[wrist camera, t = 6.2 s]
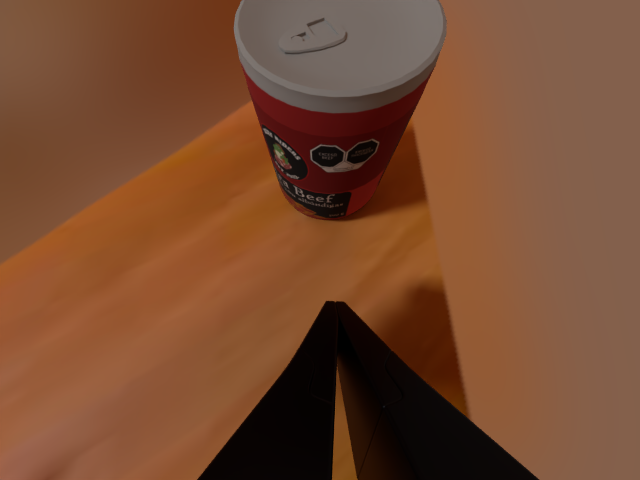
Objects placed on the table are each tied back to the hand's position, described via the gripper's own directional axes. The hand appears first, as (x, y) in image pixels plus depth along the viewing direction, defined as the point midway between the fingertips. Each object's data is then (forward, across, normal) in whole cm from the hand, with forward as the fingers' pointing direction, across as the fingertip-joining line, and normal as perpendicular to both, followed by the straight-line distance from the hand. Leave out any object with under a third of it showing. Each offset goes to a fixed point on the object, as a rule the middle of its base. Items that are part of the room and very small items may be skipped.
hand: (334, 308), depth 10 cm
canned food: (+12, 0, +3) cm, 12 cm away
